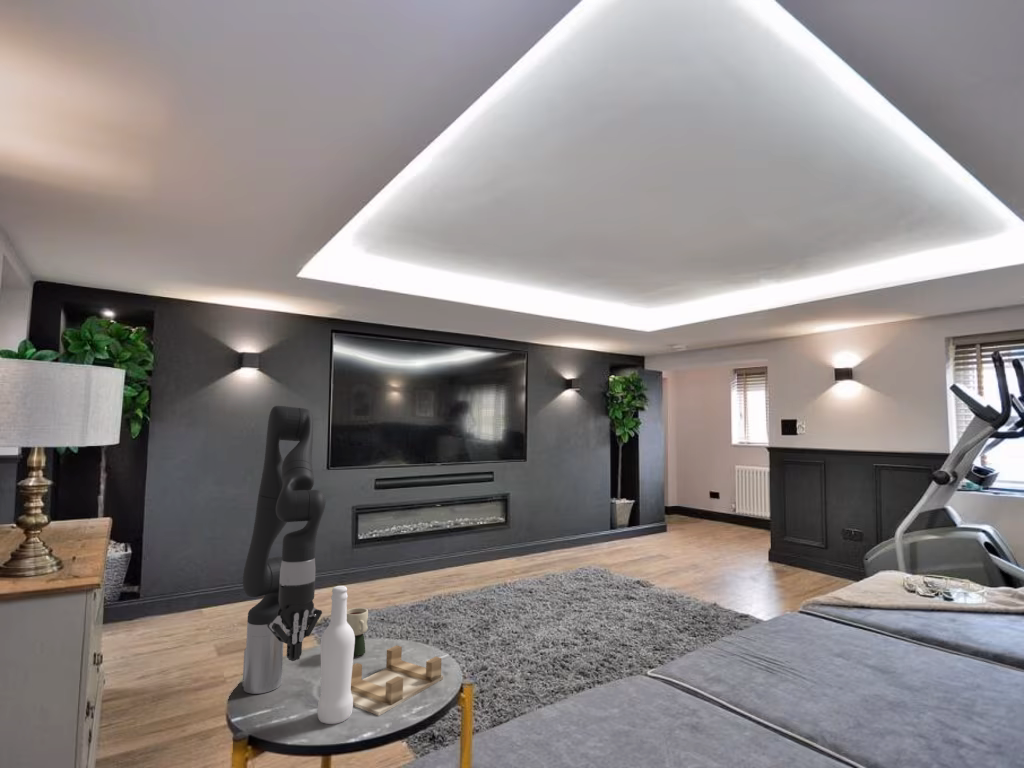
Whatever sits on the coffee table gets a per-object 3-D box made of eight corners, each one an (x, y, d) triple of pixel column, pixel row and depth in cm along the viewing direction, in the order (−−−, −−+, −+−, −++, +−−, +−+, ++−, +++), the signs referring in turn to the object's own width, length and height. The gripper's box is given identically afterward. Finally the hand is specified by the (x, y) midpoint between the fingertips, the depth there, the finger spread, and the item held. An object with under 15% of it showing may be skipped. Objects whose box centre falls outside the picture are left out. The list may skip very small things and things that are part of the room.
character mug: (373, 657, 162) (374, 613, 164) (350, 663, 158) (352, 617, 159) (358, 646, 171) (360, 604, 172) (336, 652, 166) (338, 609, 168)
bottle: (341, 727, 123) (346, 592, 126) (310, 723, 124) (315, 590, 128) (358, 710, 131) (363, 583, 134) (328, 706, 132) (333, 581, 136)
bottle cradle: (331, 697, 137) (332, 673, 138) (398, 664, 157) (399, 644, 158) (378, 715, 128) (379, 690, 129) (443, 678, 148) (443, 656, 149)
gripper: (311, 571, 129) (308, 646, 127) (260, 583, 118) (256, 666, 116) (332, 575, 125) (329, 653, 123) (281, 588, 114) (277, 674, 112)
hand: (293, 659), depth 119 cm, fingers closed
